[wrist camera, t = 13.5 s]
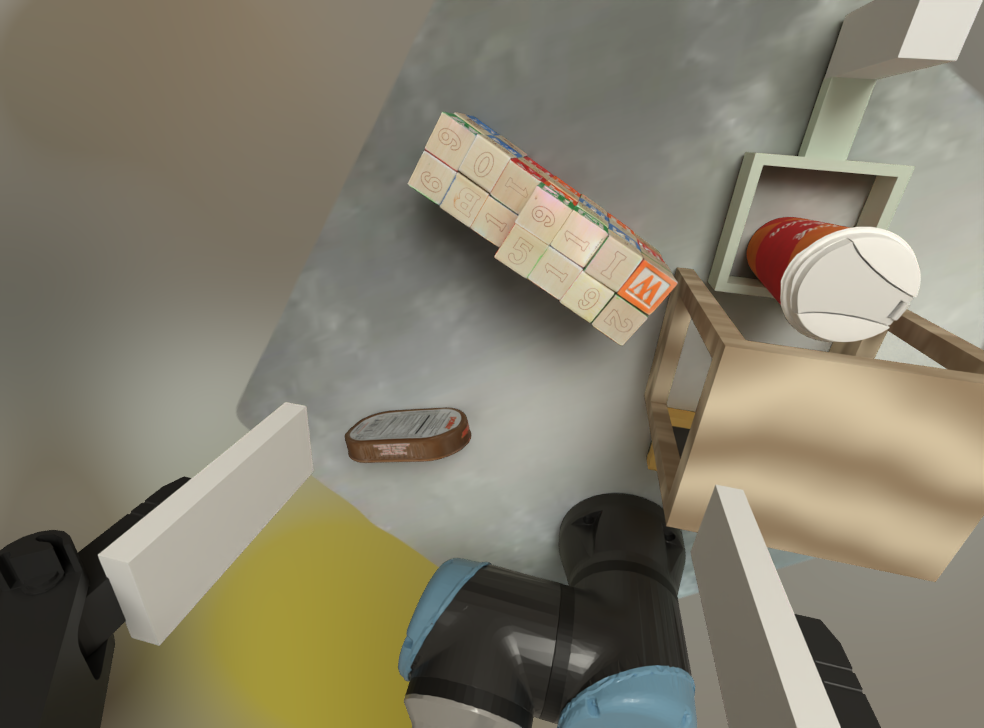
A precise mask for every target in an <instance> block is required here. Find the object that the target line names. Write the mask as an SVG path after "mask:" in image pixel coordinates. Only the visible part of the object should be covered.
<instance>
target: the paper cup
mask: <svg viewBox="0 0 984 728" xmlns="http://www.w3.org/2000/svg"><path fill="white" fill-rule="evenodd" d="M747 261H748V264H749V266H750V268H751V269H752V271H753V272H754V274H755V275H756V276H757V278H758V279H759V280H760V281H761V282H762V284H763V285H764V286H765V287H766V288H767V290H768V291H769V292H770V293H771V294H772V296H773V297H774V298H775V299H776V300H777V301H778V303H779V304H780V305H781V307H782V310H783V313H784V315H785V317H786V319H787V321H788V322H789V323H790V324H791V325H792V327H793V328H795V329H796V330H797V331H798V332H800V333H801V334H803V335H805V336H807V337H809V338H812V339H815V340H820V341H825V342H853V341H859V340H864V339H867V338H870V337H873V336H875V335H877V334H880V333H882V332H884V331H885V330H887V329H889V328H890V327H889V326H888V325H891V323H892V322H893V321H894V320H898V319H899V318H900V316H901V315H902V314H903V313H904V312H905V311H906V310H907V308H908V307H909V306H910V305H909V303H910V302H911V301H912V299H913V296H914V297H917V294H918V292H919V288H920V282H921V275H920V269H919V265H918V263H917V259H916V256H915V254H914V252H913V250H912V248H911V247H910V246H909V245H908V243H907V242H906V241H905V240H903V239H902V238H901V237H900V236H898V235H896V234H894V233H892V232H890V231H887V230H884V229H881V228H875V227H853V228H849V227H844V226H839V225H834V224H829V223H824V222H819V221H814V220H808V219H803V218H796V217H783V218H778V219H775V220H772V221H770V222H768V223H766V224H765V225H763V226H762V227H760V228H759V229H758V230H757V231H756V232H755V234H754V235H753V236H752V238H751V240H750V242H749V244H748V248H747Z"/></svg>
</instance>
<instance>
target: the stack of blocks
mask: <svg viewBox="0 0 984 728" xmlns="http://www.w3.org/2000/svg"><path fill="white" fill-rule="evenodd" d="M408 185H409V186H410V187H412V188H413V189H415V190H416V191H418V192H419V193H421V194H422V195H424V196H425V197H426V198H428V199H429V200H431V201H432V202H434V203H435V204H438V205H439V206H440V208H442V209H443V210H444V211H446V212H447V213H449V214H450V215H452V216H453V217H455V218H456V219H458V220H459V221H461V222H462V223H464V224H465V225H466V226H468V227H470V228H471V229H472V230H473V231H475V232H476V233H478V234H479V235H481V236H482V237H484V238H485V239H487V240H488V241H490V242H491V243H493V244H494V245H496V246H497V247H499V249H498V251H497V252H496V254H495V256H494V258H496V259H497V260H499V261H500V262H502V263H503V264H505V265H506V266H508V267H509V268H511V269H512V270H514V271H515V272H517V273H518V274H520V275H521V276H522V277H524V278H527V279H529V280H530V281H532V282H533V283H534V284H536V285H537V286H539V287H540V288H542V289H543V290H545V291H546V292H548V293H549V294H550V295H552V296H553V297H555V298H556V299H558V300H559V302H560V303H561V304H563V305H564V306H566V307H567V308H568V309H570V310H571V311H573V312H574V313H576V314H577V315H579V316H580V317H582V318H583V319H584V320H586V321H587V322H589V323H591V324H592V325H593V327H595V328H596V329H598V330H599V331H601V332H602V333H603V334H605V335H606V336H608V337H609V338H610V339H612V340H613V341H615V342H616V343H618V344H619V345H621V346H623V345H624V344H625V343H626V342H627V340H628V339H629V338H630V337H631V336H632V335H633V334H634V333H635V332H636V331H637V329H638V328H639V327H640V326H641V325H642V324H643V323H644V322H645V321H646V320H647V318H648V315H650V314H651V313H652V312H654V310H655V309H656V308H657V307H658V306H659V305H660V304H661V303H662V301H663V300H664V299H665V298H666V297H667V296H668V295H669V293H670V292H671V291H672V290H673V289H674V288H675V287H676V285H677V284H678V282H677V280H676V279H675V277H674V276H673V275H672V272H671V271H670V269H669V267H668V265H667V264H665V262H664V261H663V259H662V258H661V257H662V256H661V254H660V253H659V251H658V250H657V249H655V248H654V247H653V246H651V245H650V244H648V243H647V242H646V241H644V240H643V239H642V238H640V237H639V236H638V235H636V234H635V233H634V232H633V231H632V230H631V229H630V228H628V227H627V226H626V225H624V224H623V223H621V222H620V221H619V220H617V219H616V218H615V217H613V216H612V215H611V214H609V213H608V212H606V211H605V210H604V209H603V208H601V207H600V206H599V205H597V204H596V203H594V202H593V201H592V200H590V199H589V198H588V197H586V196H585V195H583V194H580V193H578V192H577V191H576V190H574V189H573V188H571V187H570V186H569V185H567V184H566V183H565V182H563V181H562V180H560V179H559V178H558V177H556V176H553V175H552V174H551V173H550V172H548V171H547V170H546V169H544V168H543V167H541V166H540V165H539V164H537V163H536V162H534V161H533V160H532V159H530V158H529V157H527V154H526V153H525V152H523V151H522V150H521V149H519V148H518V147H516V146H515V145H514V144H512V143H511V142H510V141H508V140H507V139H505V138H504V137H503V136H501V135H499V134H497V133H496V132H495V131H493V130H492V129H491V128H489V127H488V126H487V125H485V124H484V123H482V122H481V121H479V120H478V119H477V118H475V117H473V116H469V115H465V114H461V113H457V112H454V114H453V113H448V112H442V114H441V116H440V118H439V120H438V122H437V124H436V126H435V128H434V130H433V132H432V134H431V136H430V138H429V140H428V142H427V144H426V146H425V150H424V152H423V154H422V156H421V158H420V160H419V162H418V164H417V166H416V168H415V170H414V172H413V174H412V176H411V178H410V180H409V182H408Z"/></svg>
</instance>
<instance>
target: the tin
mask: <svg viewBox="0 0 984 728" xmlns="http://www.w3.org/2000/svg"><path fill="white" fill-rule="evenodd" d="M470 439H471V431H470V430H469V425H468V420H467V417H466V415H465V414H464V413H463V412H462V411H460V410H458V409H454V408H430V409H411V410H395V411H386V412H381V413H377V414H374V415H371V416H368V417H366V418H364V419H362V420H360V421H359V422H357V423H356V424H355V425H354V426H353V427H352V428H350V429H349V430H348V432H347V433H346V434H345V441H346V445H347V448H348V454H349V457H350V458H351V459H352V460H354V461H357V462H362V463H375V462H422V461H433V460H438V459H442V458H445V457H448V456H450V455H452V454H454V453H456V452H458V451H460V450H461V449H463V448H464V447H465V446H466V445H467V444H468V443H469V441H470Z"/></svg>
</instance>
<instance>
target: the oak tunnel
mask: <svg viewBox="0 0 984 728" xmlns="http://www.w3.org/2000/svg"><path fill="white" fill-rule="evenodd" d="M675 279H676V280H677V282H678V284H677V285H676V287H675V288H674V289H673V290H672V291H671V293H670V296H669V300H668V304H667V308H666V312H665V316H664V320H663V324H662V328H661V331H660V335H659V339H658V343H657V347H656V351H655V355H654V359H653V363H652V367H651V370H650V374H649V378H648V382H647V386H646V390H645V394H644V397H645V403H646V409H647V415H648V421H649V427H650V432H651V438H652V444H653V450H654V456H655V462H656V468H657V474H658V479H659V485H660V491H661V497H662V503H663V509H664V515H665V521H666V526H669V527H673V528H678V529H683V530H688V531H693V532H697V533H698V530H699V528H700V525H701V522H702V520H703V517H704V514H705V511H706V509H707V506H708V503H709V501H710V498H711V495H712V493H713V490H714V487H715V485H721V486H726V487H731V488H736V489H742V490H743V491H744V493H745V495H746V498H747V500H748V503H749V505H750V508H751V510H752V513H753V515H754V517H755V520H756V522H757V525H758V527H759V530H760V532H761V534H762V537H763V539H764V542H765V544H766V547H770V548H774V549H779V550H784V551H789V552H794V553H798V554H803V555H808V556H813V557H818V558H822V559H828V560H832V561H837V562H842V563H847V564H851V565H856V566H861V567H866V568H871V569H875V570H880V571H885V572H890V573H895V574H900V575H904V576H910V577H914V578H919V579H924V580H928V581H934V582H936V581H937V579H938V578H939V576H940V575H941V574H942V572H943V571H944V569H945V568H946V567H947V565H948V564H949V563H950V561H951V560H952V558H953V557H954V556H955V554H956V553H957V552H958V550H959V549H960V547H961V546H962V545H963V543H964V542H965V540H966V539H967V538H968V536H969V535H970V533H971V532H972V531H973V529H974V528H975V527H976V525H977V524H978V522H979V521H980V520H981V518H982V517H983V516H984V350H982V349H980V348H978V347H976V346H974V345H972V344H971V343H969V342H967V341H965V340H963V339H961V338H959V337H958V336H956V335H954V334H952V333H950V332H948V331H946V330H945V329H943V328H941V327H939V326H937V325H935V324H933V323H932V322H930V321H928V320H926V319H924V318H922V317H920V316H919V315H917V314H915V313H913V312H911V311H909V310H906V311H905V312H904V313H903V314H902V315H901V316H900V318H899V319H898V320H894V321H893V322H892V323H891V325H888V326H889V327H890V328H889V329H887V330H885V331H884V332H882V333H880V334H877V335H875V336H873V337H870V338H867V339H864V340H859V341H853V342H833V344H832V346H831V348H830V350H829V352H823V351H816V350H809V349H802V348H796V347H789V346H782V345H775V344H768V343H761V342H754V341H747V340H745V338H744V337H743V336H742V334H741V333H740V332H739V330H738V329H737V328H736V326H735V325H734V324H733V322H732V321H731V320H730V318H729V317H728V315H727V314H726V313H725V311H724V310H723V309H722V307H721V306H720V305H719V303H718V302H717V301H716V299H715V298H714V297H713V295H712V294H711V292H710V291H709V290H708V288H707V287H706V286H705V284H704V283H703V282H702V280H701V279H700V278H699V276H698V275H697V274H696V272H695V271H694V269H686V268H678V267H677V269H676V273H675ZM691 318H692V320H693V322H694V324H695V326H696V328H697V330H698V332H699V334H700V336H701V338H702V340H703V341H704V343H705V345H706V347H707V349H708V351H709V353H710V355H711V357H712V362H711V365H710V368H709V371H708V375H707V378H706V381H705V384H704V387H703V390H702V393H701V397H700V400H699V403H698V406H697V409H696V412H695V415H694V419H693V422H692V425H691V428H690V431H689V434H688V437H687V440H686V444H685V447H684V450H683V453H682V456H681V459H680V456H679V452H678V448H677V444H676V440H675V436H674V432H673V428H672V424H671V420H670V416H669V412H668V408H667V400H668V397H669V393H670V390H671V386H672V383H673V379H674V376H675V372H676V368H677V365H678V361H679V358H680V354H681V351H682V347H683V344H684V340H685V337H686V333H687V330H688V326H689V323H690V319H691ZM887 331H889V332H891V333H892V334H894V335H896V336H897V337H899V338H900V339H902V340H903V341H905V342H906V343H908V344H909V345H911V346H913V347H914V348H916V349H917V350H919V351H920V352H922V353H923V354H925V355H926V356H928V357H929V358H931V359H933V360H934V361H936V362H937V363H939V364H940V365H942V366H943V367H945V368H946V369H941V368H934V367H927V366H920V365H913V364H906V363H899V362H892V361H886V360H879V359H874V358H875V356H876V354H877V352H878V350H879V348H880V346H881V344H882V342H883V340H884V338H885V335H886V333H887Z"/></svg>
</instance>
